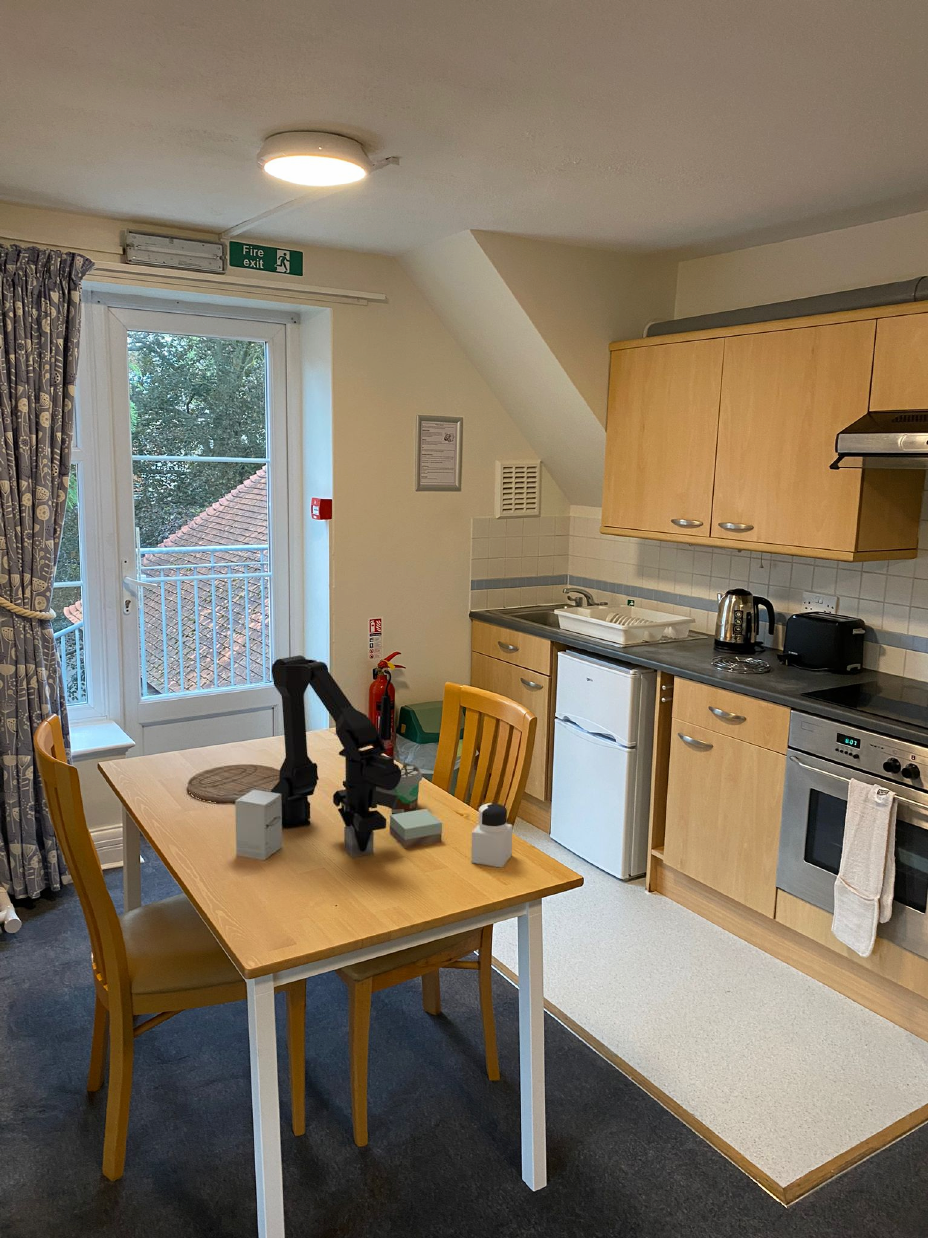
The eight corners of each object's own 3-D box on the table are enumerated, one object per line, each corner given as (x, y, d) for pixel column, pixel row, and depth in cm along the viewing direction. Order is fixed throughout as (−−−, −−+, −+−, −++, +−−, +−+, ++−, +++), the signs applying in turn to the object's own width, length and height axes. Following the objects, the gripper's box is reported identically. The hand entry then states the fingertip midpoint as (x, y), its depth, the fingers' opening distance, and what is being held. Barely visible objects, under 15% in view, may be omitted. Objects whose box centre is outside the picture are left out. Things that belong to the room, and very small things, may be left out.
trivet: (306, 783, 246) (306, 776, 246) (236, 813, 225) (236, 805, 225) (238, 765, 259) (238, 758, 259) (166, 791, 239) (166, 784, 238)
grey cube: (351, 857, 201) (351, 835, 200) (344, 848, 206) (344, 827, 205) (373, 853, 203) (373, 831, 203) (365, 844, 208) (365, 823, 207)
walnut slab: (404, 850, 207) (404, 840, 206) (389, 835, 215) (389, 825, 214) (441, 843, 210) (441, 833, 210) (425, 829, 218) (425, 819, 218)
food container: (414, 820, 222) (415, 780, 220) (389, 818, 223) (390, 778, 221) (427, 801, 234) (427, 763, 232) (403, 799, 235) (403, 761, 233)
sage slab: (404, 839, 206) (404, 829, 206) (390, 825, 214) (390, 814, 214) (442, 833, 210) (442, 822, 210) (426, 819, 218) (426, 809, 218)
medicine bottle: (512, 855, 204) (513, 803, 202) (502, 868, 197) (504, 814, 195) (481, 850, 206) (482, 798, 204) (470, 863, 200) (471, 810, 197)
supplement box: (265, 861, 199) (263, 805, 196) (235, 855, 201) (233, 800, 199) (283, 848, 205) (282, 793, 203) (254, 842, 208) (253, 788, 206)
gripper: (409, 787, 197) (408, 857, 199) (379, 760, 213) (379, 825, 216) (359, 795, 192) (359, 866, 195) (332, 766, 209) (332, 832, 211)
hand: (358, 846), depth 204 cm, fingers closed on grey cube, 5 cm apart
